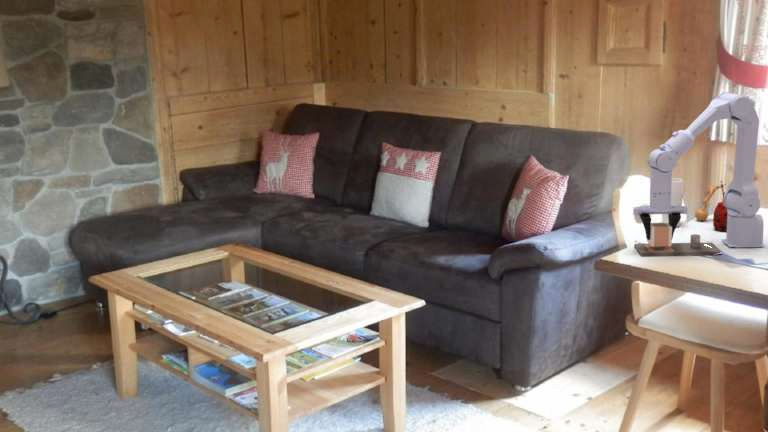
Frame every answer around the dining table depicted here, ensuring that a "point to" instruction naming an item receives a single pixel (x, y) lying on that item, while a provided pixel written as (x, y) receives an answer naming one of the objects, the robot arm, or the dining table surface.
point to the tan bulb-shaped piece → (702, 213)
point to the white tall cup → (675, 197)
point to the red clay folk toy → (720, 214)
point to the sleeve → (660, 234)
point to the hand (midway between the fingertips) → (659, 238)
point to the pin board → (678, 248)
